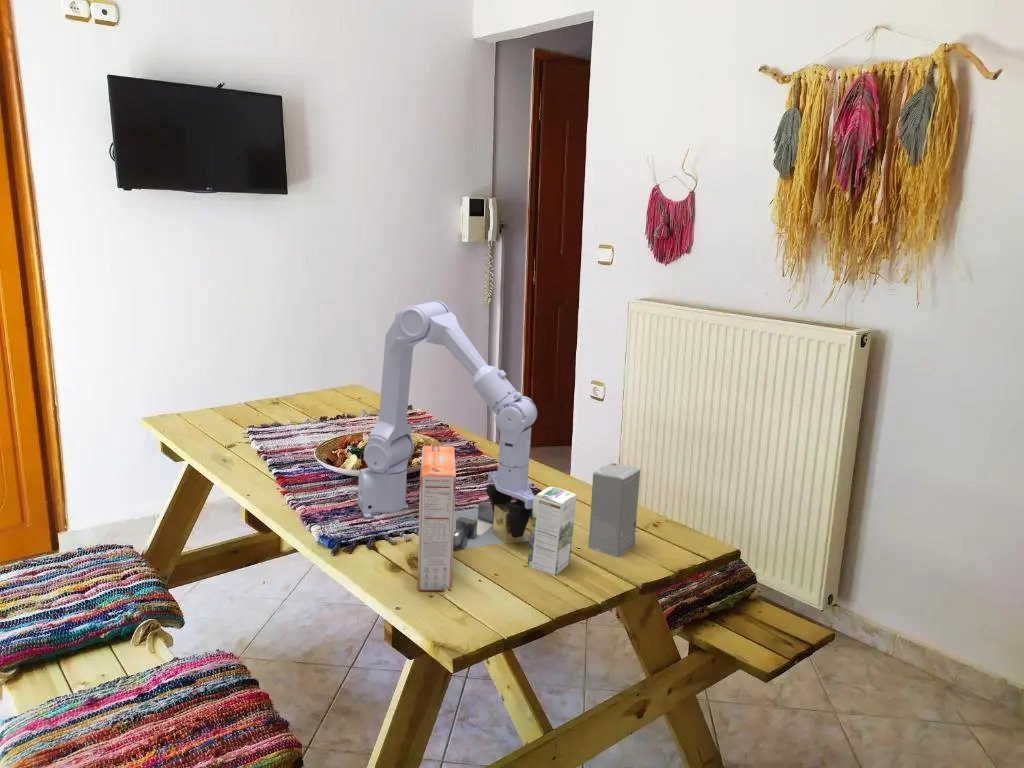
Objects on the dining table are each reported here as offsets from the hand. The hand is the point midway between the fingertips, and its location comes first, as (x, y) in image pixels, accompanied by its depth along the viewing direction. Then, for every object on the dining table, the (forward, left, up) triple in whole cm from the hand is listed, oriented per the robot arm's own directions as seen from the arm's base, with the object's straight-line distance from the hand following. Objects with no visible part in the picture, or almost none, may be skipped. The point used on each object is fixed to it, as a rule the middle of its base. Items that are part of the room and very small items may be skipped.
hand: (508, 529), depth 152 cm
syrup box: (+3, -13, -2) cm, 13 cm away
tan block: (0, 0, -1) cm, 1 cm away
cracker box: (-17, -9, -2) cm, 19 cm away
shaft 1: (-10, 0, -1) cm, 10 cm away
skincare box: (+18, -8, -2) cm, 20 cm away
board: (-4, +5, -2) cm, 7 cm away
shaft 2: (+1, +10, -1) cm, 10 cm away
